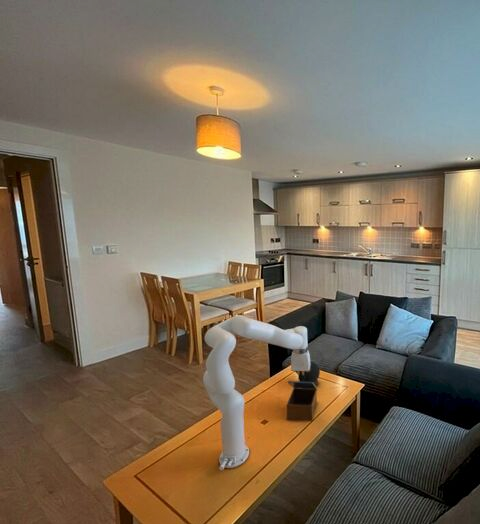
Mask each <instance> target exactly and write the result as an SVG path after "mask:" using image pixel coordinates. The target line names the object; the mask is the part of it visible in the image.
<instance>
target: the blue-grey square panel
mask: <svg viewBox="0 0 480 524" xmlns="http://www.w3.org/2000/svg"><path fill="white" fill-rule="evenodd" d="M287 384H288V385H290V386H291V387H292V389H294V388H311V389H317V390H318V386H317V387H316V386H315V384H314V383H313V382H303V381H299V380H298V381H297V380H287Z"/></svg>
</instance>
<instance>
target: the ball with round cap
mask: <svg viewBox="0 0 480 524" xmlns="http://www.w3.org/2000/svg"><path fill="white" fill-rule="evenodd" d="M310 367H311V371H310V372H306V373H305V374H304V380H303V382H313V383H314V384H315V386H316V387H317V388H318V386H319V381H318V379H319V377H320V375H321V374H320V373H321V371H320V367H319V365H318V364H317V363H316V362H313V361H311V366H310ZM301 373H302V371H301ZM309 389H311V388H309Z"/></svg>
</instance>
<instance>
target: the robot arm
mask: <svg viewBox="0 0 480 524" xmlns="http://www.w3.org/2000/svg"><path fill="white" fill-rule="evenodd" d="M235 334H236V335H238V336H240V337H242V338H245V339H250V340H254V341H259V342H264V343H267V344H270V345H274V346H278V347H282V348H284V349H290V350H292V352H291V357H290V358H291V359H290V370H291V372H295V373H296V374H297V377H298V379H297V380H298V381H303V380H304V374H305V373H306V372H310V371H311V367H310V366H311V362H312V361H311V355H310V351H309V349H308V348H309V347H308V346H309V343H308V328H307V327H306V326H303V325H299V326H298V325H297V326H296V327H293V328H288V329H283V328H280V327H278V326H276V325H273V324H271V323H267V322H264V321H260V320H258V319H257V320H256V319H253V318H250V317H248V316H245V315H243V314H238V315H237V314H236V315H234V316H231V317H229V318H227V319H226V320H224V321H221V322H220V323H217V324H216V325H214V326H212V327H210V328H209V329H208V330H207V331H206V332H205V334H204V342H205V343H206V345H207V346H209V347H210V348H212V349H211V351H210V353H209V354H208V356H207V358H206V361H205V368H206V370H205V372H204V374H203V375H202V376H203V378H202V383H203V386H204V388H205V390H206V393H207V396H208V398H209V400H210V402H211V403H212V404H213V406H214V407H215V408H217V410H219V412H220V413H221V419H220V436H221V448H222V449H221V453H220V455H219V458H218V463H219V467H218V470H219V471H223V470H224V469H233V468H237V467H239V466H240V465H242V464H243V463H245V462H246V461H247V459H248V458H249V455H250V449H249V447H248V446H247V445H246V436H245V421H244V412H245V406H246V404H245V403H246V402H245V398H244V396H243V395H242V394H241V393H240V391H238V390H236V389H235V387H236V380H235V377H234V374H233V371H232V369H231V365H230V362H229V359H230V356H231V355H232V353H233V352H234V350H235V348H236V345H237V338H236V337H235ZM301 371H302V373H301Z"/></svg>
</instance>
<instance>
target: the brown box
mask: <svg viewBox="0 0 480 524" xmlns="http://www.w3.org/2000/svg"><path fill="white" fill-rule="evenodd" d="M317 403H318V388H317V389H309V388H292V391H291V394H290V396H289V398H288V401H287V403H286V420H287V421H304V422H305V421H308V422H311V421H313V418H314V415H315V411H316V408H317Z"/></svg>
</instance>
